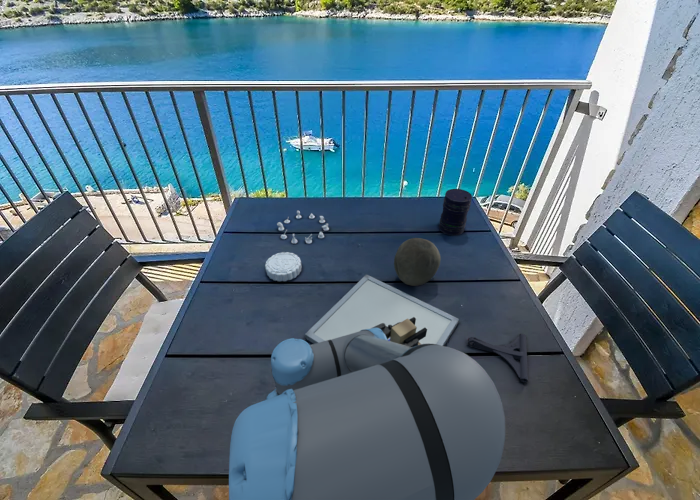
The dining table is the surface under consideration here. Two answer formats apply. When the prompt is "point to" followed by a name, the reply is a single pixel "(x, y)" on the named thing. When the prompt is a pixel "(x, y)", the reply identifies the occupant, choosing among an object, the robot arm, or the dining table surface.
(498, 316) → the dining table surface
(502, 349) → the bracket
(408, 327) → the eraser
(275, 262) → the mooncake
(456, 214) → the storage jar
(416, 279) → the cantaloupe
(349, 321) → the board
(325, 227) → the game piece set
